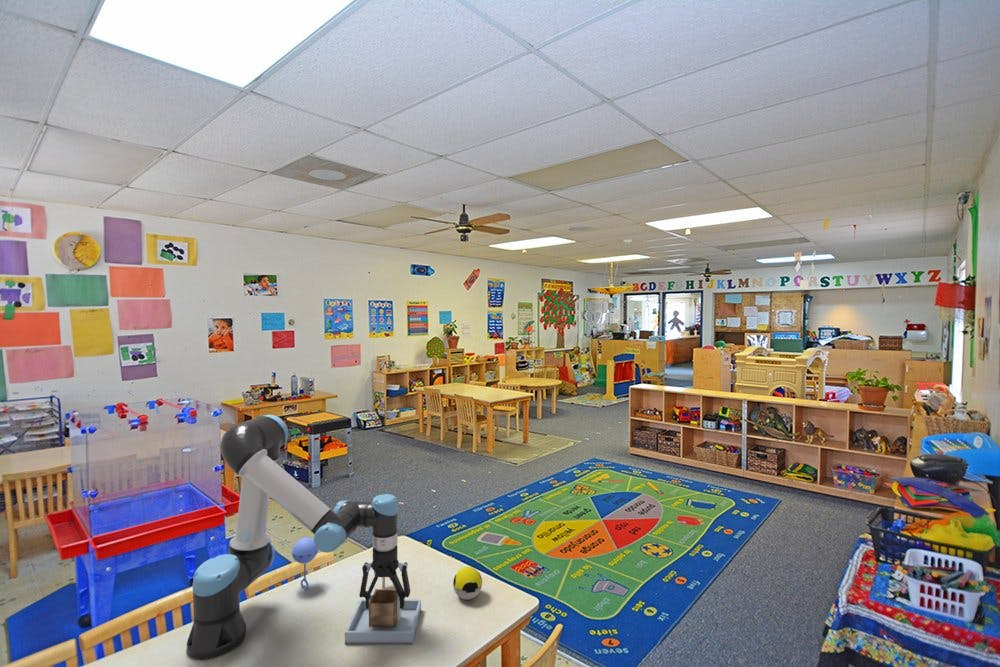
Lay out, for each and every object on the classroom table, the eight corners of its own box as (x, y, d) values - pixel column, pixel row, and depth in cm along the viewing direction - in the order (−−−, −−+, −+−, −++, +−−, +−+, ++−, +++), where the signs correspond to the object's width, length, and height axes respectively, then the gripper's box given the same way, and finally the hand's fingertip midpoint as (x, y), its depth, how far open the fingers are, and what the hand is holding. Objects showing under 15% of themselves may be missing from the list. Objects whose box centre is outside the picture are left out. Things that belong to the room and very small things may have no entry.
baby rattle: (323, 586, 166) (323, 537, 165) (302, 598, 158) (301, 547, 158) (308, 579, 170) (308, 530, 170) (286, 590, 163) (286, 540, 162)
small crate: (368, 626, 141) (368, 604, 140) (375, 610, 149) (375, 588, 148) (395, 626, 141) (395, 604, 140) (400, 610, 149) (400, 588, 148)
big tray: (344, 644, 137) (344, 632, 136) (360, 609, 153) (360, 599, 152) (412, 644, 137) (412, 632, 137) (421, 610, 153) (421, 599, 153)
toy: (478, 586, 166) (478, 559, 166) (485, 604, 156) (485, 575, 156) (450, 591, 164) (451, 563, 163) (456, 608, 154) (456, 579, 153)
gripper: (347, 552, 140) (347, 625, 141) (416, 552, 140) (416, 625, 141) (355, 540, 148) (355, 610, 148) (420, 540, 148) (420, 610, 149)
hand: (385, 617), depth 145 cm, fingers closed on small crate, 8 cm apart
